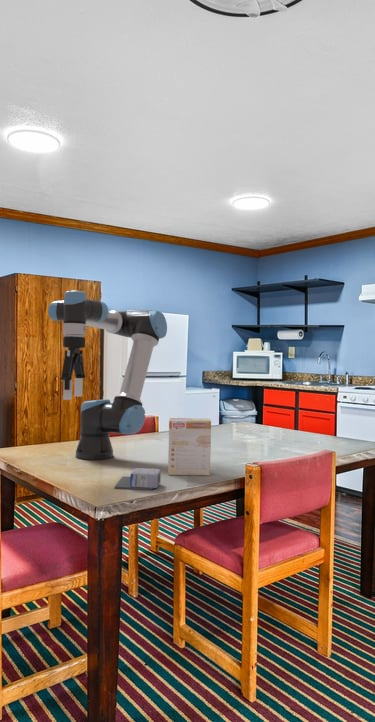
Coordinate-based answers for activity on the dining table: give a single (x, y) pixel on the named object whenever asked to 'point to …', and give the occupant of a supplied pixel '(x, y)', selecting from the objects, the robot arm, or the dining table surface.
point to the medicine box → (145, 478)
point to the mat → (128, 484)
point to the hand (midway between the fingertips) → (73, 398)
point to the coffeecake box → (189, 446)
